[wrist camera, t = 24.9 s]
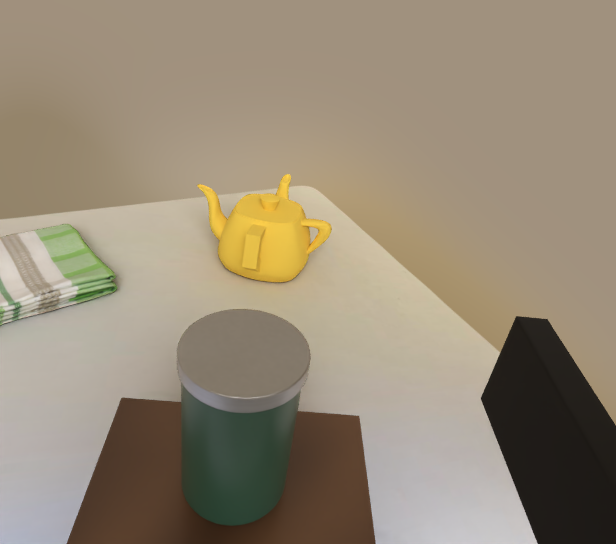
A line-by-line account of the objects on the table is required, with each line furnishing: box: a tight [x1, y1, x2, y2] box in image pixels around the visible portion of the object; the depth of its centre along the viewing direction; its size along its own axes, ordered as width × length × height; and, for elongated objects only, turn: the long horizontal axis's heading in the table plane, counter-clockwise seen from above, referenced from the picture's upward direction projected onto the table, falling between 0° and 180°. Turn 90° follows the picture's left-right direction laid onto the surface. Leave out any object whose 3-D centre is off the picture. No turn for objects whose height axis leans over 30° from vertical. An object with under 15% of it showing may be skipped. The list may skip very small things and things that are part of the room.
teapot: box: [198, 174, 332, 282], centre depth 69 cm, size 14×13×10 cm
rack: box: [67, 398, 376, 544], centre depth 34 cm, size 16×11×11 cm
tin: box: [177, 309, 310, 526], centre depth 28 cm, size 6×6×10 cm
